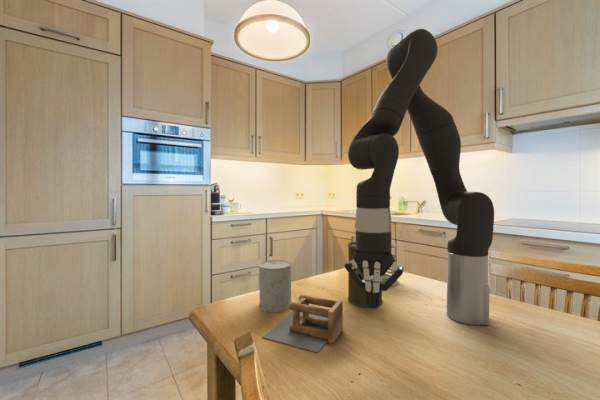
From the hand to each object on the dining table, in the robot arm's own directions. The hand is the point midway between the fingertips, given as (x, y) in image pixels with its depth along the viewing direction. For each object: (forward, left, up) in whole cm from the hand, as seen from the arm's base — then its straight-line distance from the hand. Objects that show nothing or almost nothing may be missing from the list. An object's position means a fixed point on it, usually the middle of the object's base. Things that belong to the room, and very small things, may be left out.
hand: (373, 307), depth 61 cm
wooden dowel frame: (+8, 0, -5) cm, 9 cm away
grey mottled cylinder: (+31, -9, -9) cm, 33 cm away
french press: (+6, -44, -9) cm, 45 cm away
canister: (+8, -24, -9) cm, 26 cm away
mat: (+17, 0, -8) cm, 19 cm away
